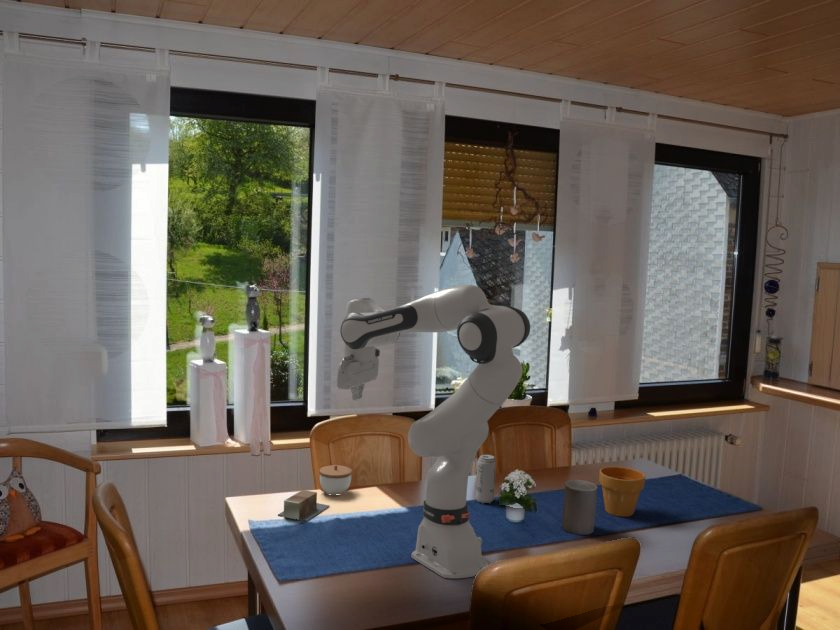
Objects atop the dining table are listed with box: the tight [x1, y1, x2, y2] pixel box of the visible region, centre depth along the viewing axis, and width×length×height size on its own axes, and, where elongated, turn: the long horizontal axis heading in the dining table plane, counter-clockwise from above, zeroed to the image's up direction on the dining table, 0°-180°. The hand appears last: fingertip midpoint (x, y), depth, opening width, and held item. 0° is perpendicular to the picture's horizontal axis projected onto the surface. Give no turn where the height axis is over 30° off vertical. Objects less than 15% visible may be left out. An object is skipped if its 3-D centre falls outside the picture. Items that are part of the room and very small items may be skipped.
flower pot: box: [598, 466, 646, 518], centre depth 238 cm, size 14×14×13 cm
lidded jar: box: [318, 464, 353, 496], centre depth 245 cm, size 11×11×9 cm
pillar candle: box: [561, 479, 598, 536], centre depth 223 cm, size 10×10×15 cm
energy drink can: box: [475, 454, 497, 504], centre depth 243 cm, size 6×6×15 cm
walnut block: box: [283, 489, 318, 521], centre depth 225 cm, size 5×5×11 cm
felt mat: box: [277, 502, 330, 522], centre depth 227 cm, size 14×10×1 cm
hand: (357, 399), depth 218 cm, fingers closed
